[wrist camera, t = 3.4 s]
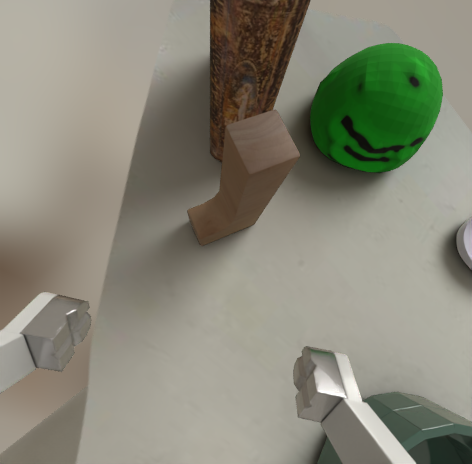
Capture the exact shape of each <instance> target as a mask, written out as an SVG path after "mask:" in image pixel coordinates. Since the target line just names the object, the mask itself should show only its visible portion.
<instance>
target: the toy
mask: <svg viewBox="0 0 472 464" xmlns="http://www.w3.org/2000/svg"><path fill="white" fill-rule="evenodd" d="M442 91H443V90H442V79H441V77H440V74H439V72H438V70H437V67H436V65H435V64H434V63H433V61H432V60H431V59H430V58H429V57H428V56H427V55H426V54H424V53H423V52H422V51H420V50H417V49H416V48H413V47H411V46H408V45H404V44H399V43H386V44H379V45H375V46H372V47H368V48H366V49H364V50H362V51H360V52H358V53H356V54H354V55H353V56H351V57H349V58H347V59H346V60H345V61H343V62H342V63H340V64H339V65H338V66H337V67H335V68H334V69H333V70H332V71H331V72H330V73H329V74H328V76H327V77H326V78H325V79H324V80H323V81H322V82H320V85H319V87H318V89H317V92H316V94H315V97H314V100H313V103H312V106H311V114H310V122H311V131H312V135H313V139H314V142H315V144H316V145H317V147H318V148H319V149H320V151H321V152H322V153H323V154H324V155H326V156H327V157H328V158H329V159H331V160H333V161H335V162H337V163H338V164H340V165H343V166H346V167H349V168H352V169H356V170H360V171H365V172H377V173H381V172H387V171H391V170H393V169H396V168H398V167H400V166H401V165H403V164H404V163H405V162H406V161H408V160H409V159H410V158H411V157H412V156H413V155H414V154H415V153H416V152H417V151H418V149H419V148H420V147H421V145H422V144H423V142H424V141H425V140H426V138H427V137H428V135H429V134H430V132H431V130H432V129H433V127H434V124H435V122H436V119H437V117H438V114H439V112H440V107H441V102H442V96H443V92H442Z"/></svg>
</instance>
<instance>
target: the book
mask: <svg viewBox="0 0 472 464" xmlns="http://www.w3.org/2000/svg"><path fill="white" fill-rule="evenodd" d="M309 3H310V0H210V152H211V154H212V156H213V157H214V158H215V159H217V160H218V161H220V162H222V159H223V149H224V139H225V129H226V126H227V125H229V124H232V123H235V122H238V121H241V120H244V119H247V118H250V117H253V116H256V115H259V114H262V113H265V112H268V111H271V110H273V107H274V104H275V101H276V98H277V95H278V92H279V89H280V87H281V84H282V81H283V78H284V75H285V72H286V69H287V66H288V64H289V61H290V58H291V55H292V52H293V49H294V46H295V43H296V41H297V38H298V35H299V32H300V29H301V26H302V23H303V20H304V17H305V15H306V12H307V9H308V6H309Z"/></svg>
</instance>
